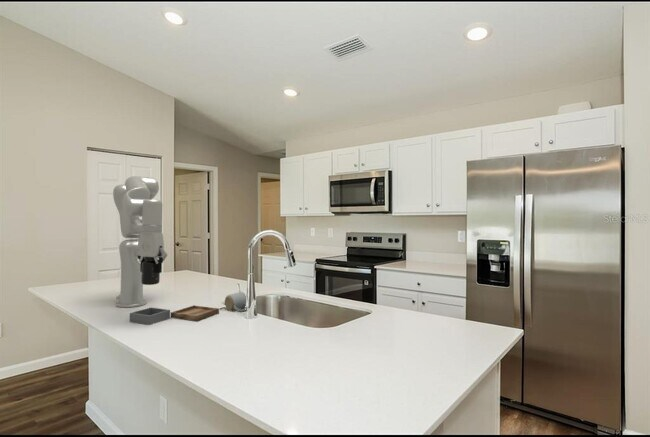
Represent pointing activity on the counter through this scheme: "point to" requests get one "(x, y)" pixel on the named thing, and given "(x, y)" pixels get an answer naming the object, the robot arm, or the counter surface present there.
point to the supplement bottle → (149, 272)
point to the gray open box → (149, 315)
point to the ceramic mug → (236, 301)
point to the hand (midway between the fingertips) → (150, 271)
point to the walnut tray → (194, 313)
